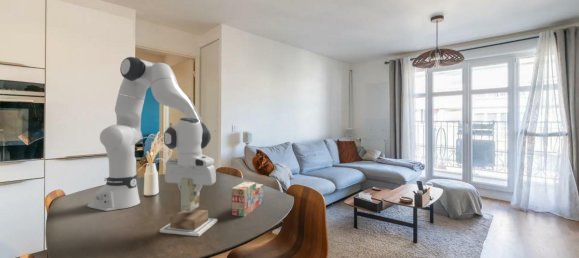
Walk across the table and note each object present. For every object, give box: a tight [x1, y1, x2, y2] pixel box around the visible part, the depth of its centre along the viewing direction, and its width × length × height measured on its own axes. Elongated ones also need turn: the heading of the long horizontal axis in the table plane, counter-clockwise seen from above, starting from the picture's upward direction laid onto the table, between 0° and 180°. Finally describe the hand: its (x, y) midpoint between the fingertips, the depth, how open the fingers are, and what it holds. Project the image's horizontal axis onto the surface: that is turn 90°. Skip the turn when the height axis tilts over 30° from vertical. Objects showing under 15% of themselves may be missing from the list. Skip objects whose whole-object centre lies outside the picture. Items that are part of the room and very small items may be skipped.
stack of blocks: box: [231, 181, 264, 218], centre depth 122 cm, size 21×6×12 cm, turn 163°
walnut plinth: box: [169, 208, 209, 231], centre depth 101 cm, size 10×10×4 cm
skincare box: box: [180, 178, 200, 211], centre depth 101 cm, size 6×4×12 cm
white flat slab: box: [159, 217, 218, 237], centre depth 101 cm, size 16×14×1 cm
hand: (190, 195), depth 101 cm, fingers closed on skincare box, 4 cm apart
